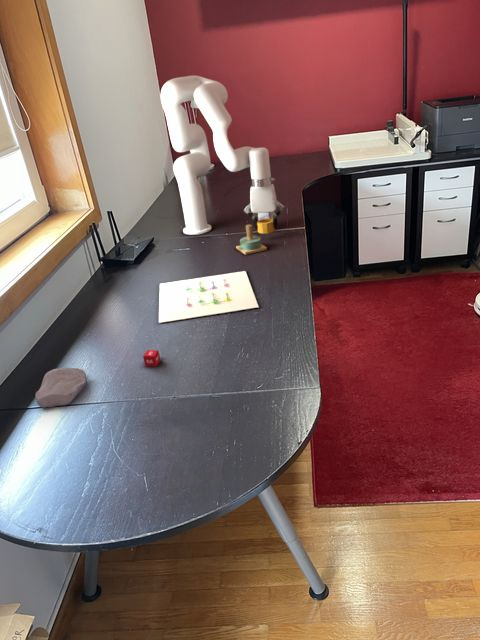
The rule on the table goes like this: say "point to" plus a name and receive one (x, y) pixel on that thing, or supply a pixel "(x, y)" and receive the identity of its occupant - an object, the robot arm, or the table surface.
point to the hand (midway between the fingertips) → (265, 227)
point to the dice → (151, 358)
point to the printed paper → (205, 296)
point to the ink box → (265, 215)
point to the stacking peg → (250, 243)
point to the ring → (265, 225)
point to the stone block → (60, 387)
